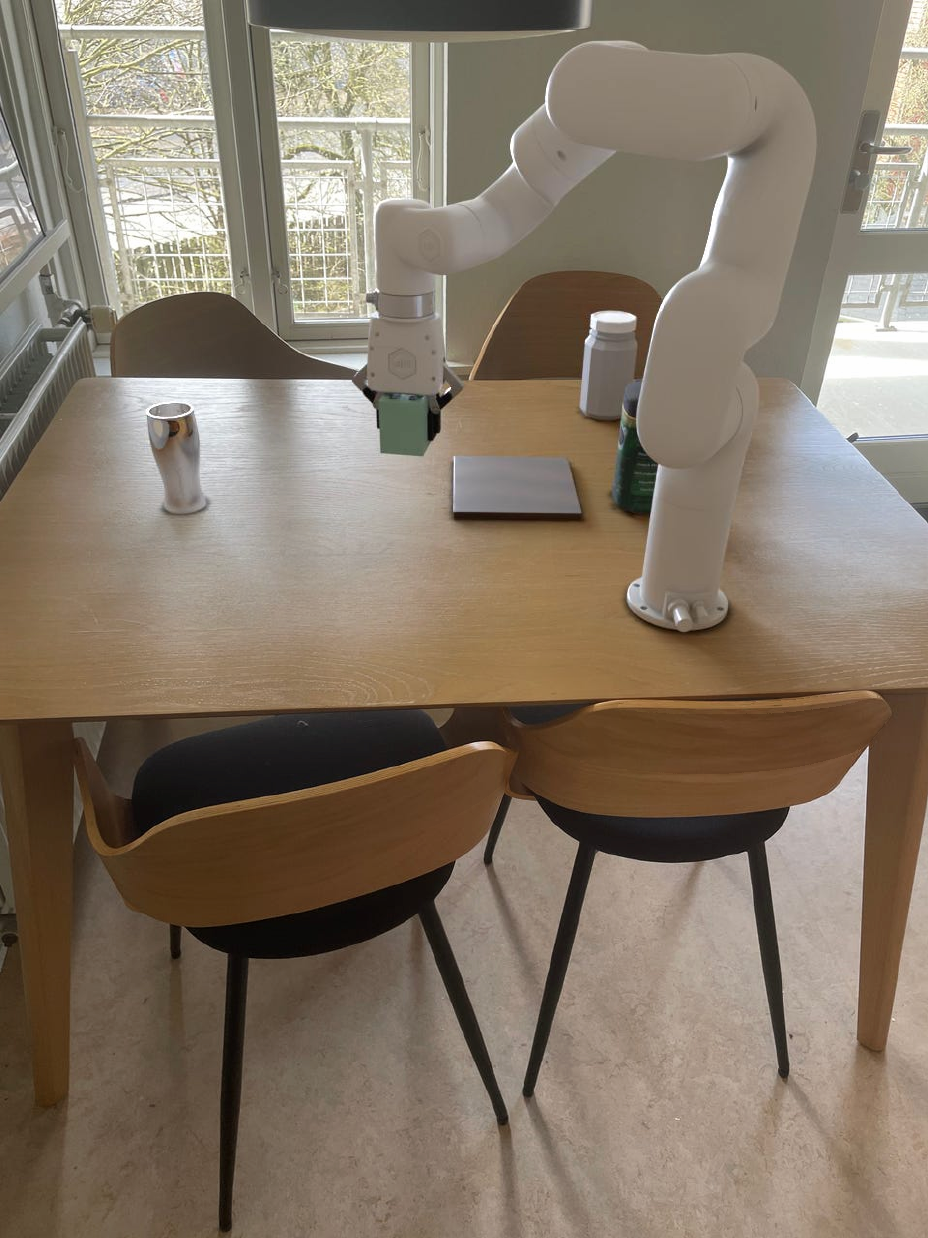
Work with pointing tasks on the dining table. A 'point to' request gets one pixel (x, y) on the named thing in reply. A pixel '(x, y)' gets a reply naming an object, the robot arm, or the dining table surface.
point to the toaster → (403, 424)
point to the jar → (608, 364)
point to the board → (514, 488)
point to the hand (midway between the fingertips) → (408, 434)
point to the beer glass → (177, 455)
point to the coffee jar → (633, 460)
